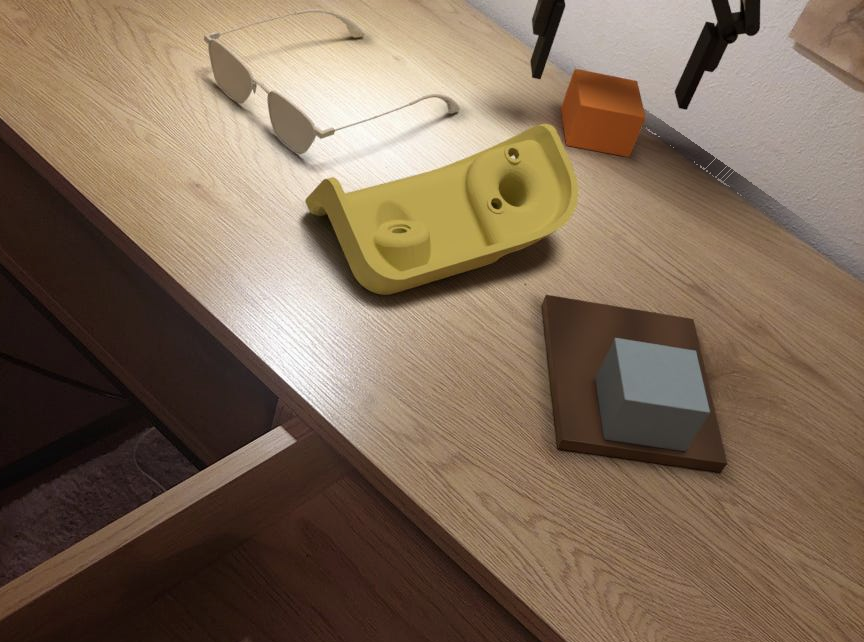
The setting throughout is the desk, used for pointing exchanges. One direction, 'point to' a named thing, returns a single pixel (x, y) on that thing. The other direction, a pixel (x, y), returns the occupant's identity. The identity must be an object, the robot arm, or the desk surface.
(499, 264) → the desk surface
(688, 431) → the grey-blue cube
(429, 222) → the plastic component
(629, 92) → the orange cube
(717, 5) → the robot arm
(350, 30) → the eyeglasses
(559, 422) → the board
